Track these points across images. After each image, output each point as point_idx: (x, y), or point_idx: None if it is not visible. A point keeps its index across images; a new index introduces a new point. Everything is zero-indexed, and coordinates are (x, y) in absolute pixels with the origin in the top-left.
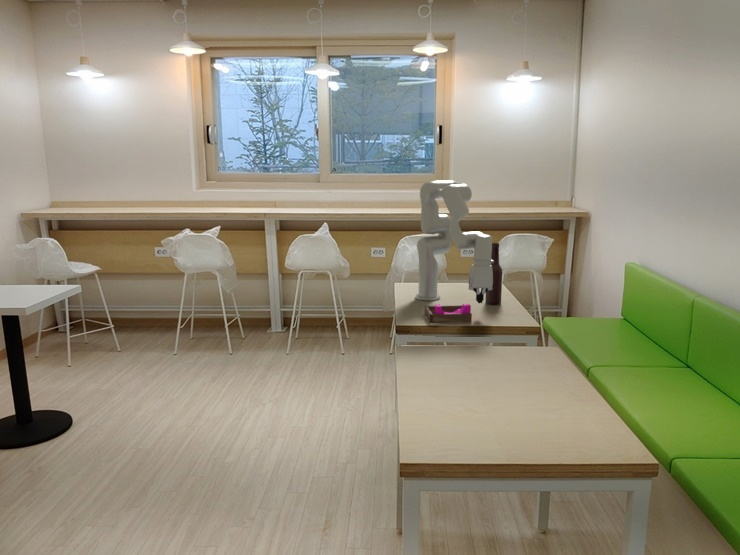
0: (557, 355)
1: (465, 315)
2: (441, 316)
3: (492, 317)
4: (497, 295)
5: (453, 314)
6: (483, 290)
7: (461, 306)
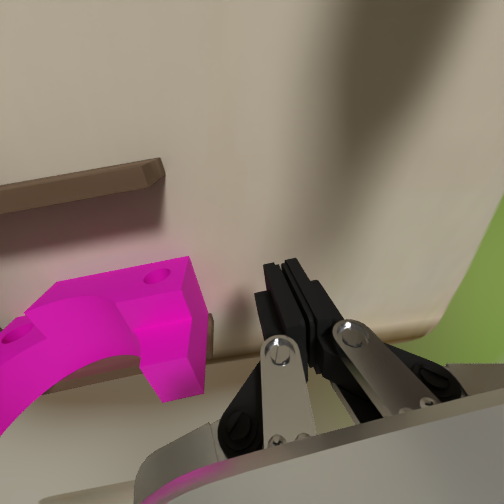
0: None
1: None
2: None
3: (331, 230)
4: None
5: (111, 378)
6: (363, 422)
7: (125, 190)
